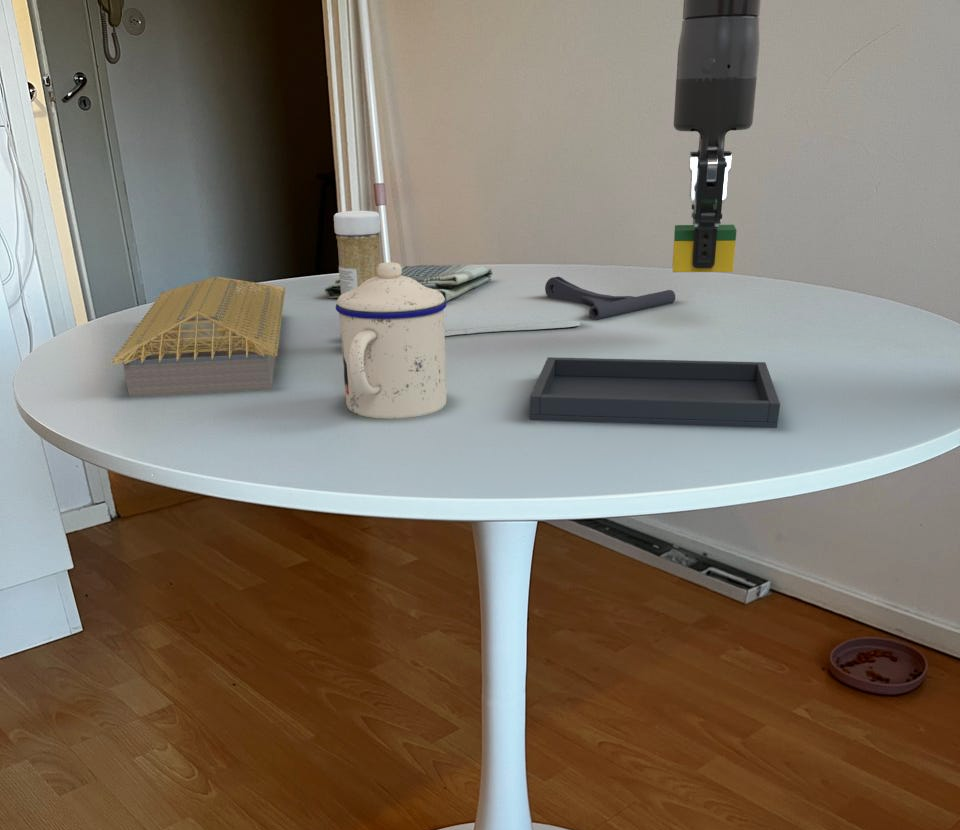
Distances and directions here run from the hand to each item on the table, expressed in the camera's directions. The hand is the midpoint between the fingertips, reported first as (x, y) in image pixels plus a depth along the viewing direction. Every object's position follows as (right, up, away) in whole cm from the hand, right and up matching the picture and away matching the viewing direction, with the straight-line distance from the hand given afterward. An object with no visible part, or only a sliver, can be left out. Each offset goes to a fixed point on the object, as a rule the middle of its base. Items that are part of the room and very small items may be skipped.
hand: (702, 263), depth 104 cm
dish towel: (-32, +8, +33) cm, 47 cm away
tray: (-8, -18, -17) cm, 27 cm away
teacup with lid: (-31, -20, -18) cm, 41 cm away
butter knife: (-25, -5, +8) cm, 26 cm away
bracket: (-9, +3, +22) cm, 24 cm away
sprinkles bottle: (-35, -9, +2) cm, 36 cm away
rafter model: (-51, -9, +2) cm, 52 cm away
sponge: (0, -1, 0) cm, 1 cm away
